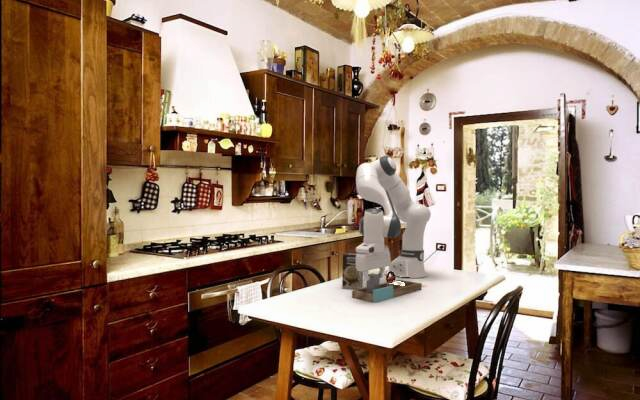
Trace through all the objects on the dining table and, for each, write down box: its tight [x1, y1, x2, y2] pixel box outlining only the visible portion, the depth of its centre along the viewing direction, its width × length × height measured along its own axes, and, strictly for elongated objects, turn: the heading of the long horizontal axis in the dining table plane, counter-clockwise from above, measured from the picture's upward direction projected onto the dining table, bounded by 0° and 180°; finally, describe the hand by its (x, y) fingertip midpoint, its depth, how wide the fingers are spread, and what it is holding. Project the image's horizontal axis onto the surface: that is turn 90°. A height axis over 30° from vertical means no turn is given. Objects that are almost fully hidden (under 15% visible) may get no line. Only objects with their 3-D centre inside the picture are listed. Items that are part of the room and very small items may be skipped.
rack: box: [351, 279, 422, 304], centre depth 204 cm, size 12×35×5 cm, turn 135°
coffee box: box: [341, 252, 364, 290], centre depth 216 cm, size 9×6×16 cm
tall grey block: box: [365, 272, 381, 294], centre depth 196 cm, size 4×4×10 cm
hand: (373, 279), depth 196 cm, fingers open, 8 cm apart
